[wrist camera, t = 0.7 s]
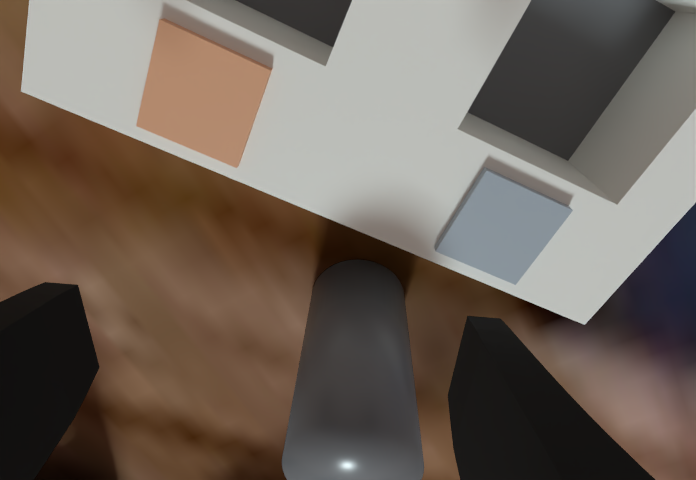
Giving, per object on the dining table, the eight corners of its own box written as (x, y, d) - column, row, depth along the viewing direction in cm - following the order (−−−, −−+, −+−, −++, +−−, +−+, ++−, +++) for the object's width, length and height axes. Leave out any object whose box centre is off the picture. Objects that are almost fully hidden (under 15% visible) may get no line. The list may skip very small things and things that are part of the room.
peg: (421, 280, 19) (450, 447, 12) (379, 346, 21) (384, 523, 14) (333, 245, 19) (313, 401, 12) (298, 316, 21) (262, 486, 14)
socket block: (767, -26, 14) (917, -28, 10) (544, 261, 19) (588, 330, 15) (174, -391, 11) (70, -593, 7) (98, 67, 16) (13, 93, 12)
